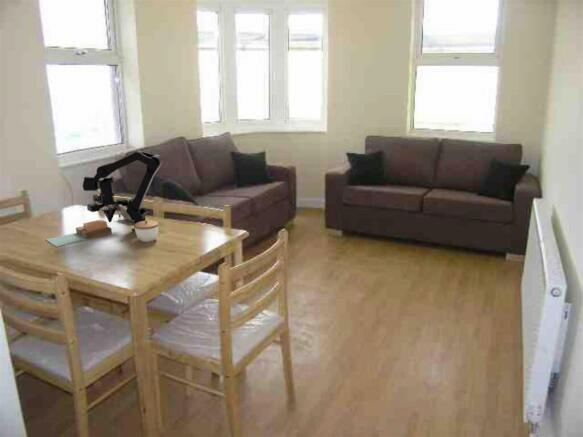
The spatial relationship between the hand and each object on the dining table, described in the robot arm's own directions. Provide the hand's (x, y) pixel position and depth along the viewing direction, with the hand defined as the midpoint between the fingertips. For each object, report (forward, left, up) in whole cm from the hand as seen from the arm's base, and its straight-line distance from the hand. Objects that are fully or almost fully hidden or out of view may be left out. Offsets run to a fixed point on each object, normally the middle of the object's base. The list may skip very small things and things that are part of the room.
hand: (110, 221), depth 265 cm
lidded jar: (-26, -6, -5) cm, 27 cm away
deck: (0, +8, -4) cm, 9 cm away
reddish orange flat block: (0, +7, -1) cm, 8 cm away
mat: (0, +22, -4) cm, 22 cm away
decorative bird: (+10, -15, -5) cm, 18 cm away
